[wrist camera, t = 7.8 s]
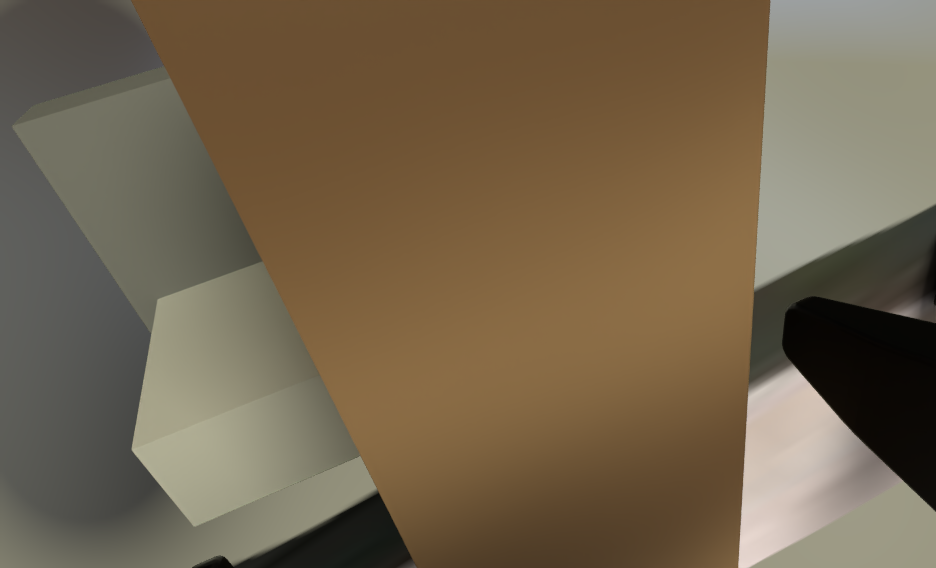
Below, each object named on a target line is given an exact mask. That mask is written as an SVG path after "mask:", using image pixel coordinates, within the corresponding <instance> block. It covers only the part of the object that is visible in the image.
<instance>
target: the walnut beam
mask: <svg viewBox="0 0 936 568" xmlns="http://www.w3.org/2000/svg"><path fill="white" fill-rule="evenodd" d="M131 1H132V3H133V5H134V7H135V9H136V11H137V13H138V15H139V17H140V19H141V21H142V23H143V25H144V27H145V29H146V30H147V33H148V35H149V37H150V39H151V41H152V42H153V44H154V47H155V49H156V50H157V52H158V55H159V57H160V59H161V60H162V62H163V64H164V66H165V68H166V70H167V72H168V74H169V76H170V78H171V80H172V82H173V84H174V86H175V88H176V90H177V92H178V94H179V96H180V98H181V100H182V102H183V104H184V106H185V108H186V110H187V112H188V114H189V116H190V118H191V120H192V122H193V124H194V126H195V128H196V130H197V132H198V134H199V136H200V138H201V140H202V142H203V144H204V146H205V148H206V150H207V152H208V154H209V156H210V158H211V160H212V162H213V164H214V166H215V168H216V170H217V172H218V174H219V176H220V178H221V180H222V182H223V184H224V186H225V188H226V190H227V192H228V194H229V196H230V198H231V199H232V201H233V203H234V205H235V207H236V209H237V211H238V213H239V215H240V217H241V219H242V221H243V223H244V225H245V227H246V229H247V231H248V233H249V235H250V237H251V239H252V241H253V243H254V245H255V247H256V249H257V251H258V253H259V255H260V257H261V259H262V261H263V263H264V265H265V267H266V269H267V271H268V273H269V275H270V277H271V279H272V281H273V283H274V285H275V287H276V289H277V291H278V293H279V295H280V297H281V299H282V301H283V303H284V305H285V307H286V309H287V311H288V313H289V315H290V317H291V319H292V321H293V323H294V325H295V327H296V329H297V331H298V332H299V334H300V336H301V338H302V340H303V342H304V344H305V346H306V348H307V350H308V352H309V354H310V356H311V358H312V360H313V362H314V364H315V366H316V368H317V370H318V372H319V374H320V376H321V378H322V380H323V382H324V384H325V386H326V388H327V390H328V392H329V394H330V396H331V398H332V400H333V402H334V404H335V406H336V408H337V410H338V412H339V414H340V416H341V418H342V420H343V422H344V424H345V426H346V428H347V430H348V432H349V434H350V436H351V438H352V440H353V442H354V444H355V446H356V448H357V450H358V452H359V454H360V456H361V457H362V460H363V461H364V463H365V465H366V467H367V469H368V471H369V473H370V475H371V477H372V479H373V481H374V483H375V485H376V487H377V489H378V491H379V493H380V495H381V497H382V499H383V501H384V503H385V505H386V507H387V509H388V511H389V513H390V515H391V517H392V519H393V521H394V523H395V525H396V527H397V529H398V531H399V533H400V535H401V537H402V539H403V541H404V543H405V545H406V547H407V549H408V551H409V553H410V555H411V557H412V559H413V561H414V563H415V565H416V567H417V568H738V560H739V543H740V525H741V507H742V490H743V472H744V455H745V437H746V420H747V402H748V384H749V367H750V349H751V332H752V314H753V296H754V278H755V259H756V244H757V225H758V207H759V190H760V173H761V156H762V138H763V120H764V103H765V85H766V67H767V50H768V33H769V13H770V0H131Z"/></svg>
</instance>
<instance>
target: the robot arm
mask: <svg viewBox="0 0 936 568" xmlns="http://www.w3.org/2000/svg"><path fill="white" fill-rule="evenodd" d="M934 305H935V306H936V295H935V299H934ZM782 346H783V350H784V352H785V354H786V356H787V357H788V359H789V360H790V361H791V362H792V364H793V365H794V366H795V367H796V368H797V369H798V371H799V372H800V373H801V374H802V375H803V376H804V377H805V379H806V380H807V381H808V382H809V383H810V384H811V385H812V387H813V388H814V389H815V390H816V391H817V392H818V394H819V395H820V396H821V397H822V398H823V399H824V400H825V402H826V403H827V404H828V405H829V406H830V407H831V408H832V410H833V411H834V412H835V413H836V414H837V415H838V417H839V418H840V419H841V420H842V421H843V422H844V423H845V424H846V425H847V427H848V428H849V429H850V430H851V431H852V432H853V433H854V434H855V435H856V436H857V437H858V438H859V439H860V440H861V441H862V442H863V443H864V444H865V445H866V446H867V447H868V448H869V449H870V450H871V451H872V452H873V453H875V454H876V455H877V456H878V457H879V458H880V459H881V460H882V461H883V462H884V463H885V464H886V465H887V466H888V467H889V468H890V469H891V470H892V471H893V472H895V473H896V474H897V475H898V476H899V477H900V478H901V479H902V480H903V481H904V482H905V483H906V484H907V485H908V486H909V487H910V488H911V489H912V490H913V491H915V492H916V493H917V494H918V495H919V496H920V497H921V498H922V499H923V500H924V501H925V502H926V503H927V504H928V505H929V506H930V507H931V508H933V510H935V511H936V323H932V322H928V321H923V320H919V319H915V318H910V317H906V316H901V315H897V314H893V313H888V312H884V311H879V310H875V309H870V308H866V307H862V306H857V305H853V304H848V303H844V302H839V301H835V300H831V299H826V298H822V297H817V296H810V297H806V298H804V299H801V300H799V301H797V302H795V303H792V304H790V305H789V306H788V307H787V309H786V311H785V319H784V328H783V338H782ZM192 568H234V567H233V566H232V565H231V563H230V562H229V561H228V560H227V559H226V558H225V557H223V556H216V557H213V558H211V559H209V560H206V561H204V562H202V563H200V564H197V565H195V566H194V567H192Z"/></svg>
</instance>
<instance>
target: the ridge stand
mask: <svg viewBox="0 0 936 568" xmlns="http://www.w3.org/2000/svg"><path fill="white" fill-rule="evenodd" d="M12 128H13V129H14V131H15V132H16V134H17V135H18V137H19V138H20V140H21V141H22V143H23V144H24V146H25V147H26V149H27V150H28V152H29V153H30V154H31V156H32V158H33V159H34V161H35V162H36V163H37V165H38V166H39V168H40V169H41V171H42V172H43V174H44V175H45V177H46V178H47V180H48V181H49V183H50V184H51V186H52V187H53V189H54V190H55V192H56V193H57V195H58V196H59V198H60V199H61V201H62V202H63V203H64V205H65V207H66V208H67V209H68V211H69V213H70V214H71V215H72V217H73V219H74V220H75V222H76V223H77V224H78V226H79V228H80V229H81V230H82V232H83V233H84V235H85V236H86V238H87V239H88V241H89V242H90V244H91V245H92V247H93V248H94V250H95V251H96V253H97V254H98V256H99V257H100V259H101V260H102V262H103V263H104V265H105V266H106V268H107V269H108V270H109V272H110V274H111V275H112V277H113V278H114V280H115V281H116V283H117V284H118V286H119V287H120V289H121V290H122V291H123V293H124V294H125V296H126V297H127V299H128V300H129V302H130V303H131V305H132V306H133V308H134V309H135V311H136V312H137V314H138V315H139V317H140V318H141V320H142V321H143V323H144V324H145V326H146V327H147V329H148V330H149V332H150V333H151V341H150V346H149V352H148V359H147V364H146V369H145V375H144V382H143V387H142V393H141V398H140V404H139V410H138V416H137V422H136V427H135V433H134V439H133V445H132V451H133V452H134V453H135V455H136V456H137V457H138V458H139V459H140V461H141V462H142V463H143V465H144V466H145V467H146V468H147V469H148V471H149V472H150V473H151V474H152V476H153V477H154V478H155V479H156V481H157V482H158V483H159V484H160V485H161V487H162V488H163V489H164V490H165V492H166V493H167V494H168V495H169V496H170V498H171V499H172V500H173V501H174V503H175V504H176V505H177V506H178V507H179V509H180V510H181V511H182V513H183V514H184V515H185V516H186V517H187V519H188V520H189V521H190V522H191V524H192V525H193V526H194V527H195V526H198V525H200V524H202V523H204V522H207V521H209V520H212V519H214V518H216V517H219V516H221V515H223V514H226V513H228V512H230V511H233V510H235V509H237V508H240V507H242V506H244V505H247V504H249V503H251V502H254V501H256V500H258V499H261V498H263V497H265V496H267V495H270V494H272V493H275V492H277V491H279V490H282V489H284V488H286V487H289V486H291V485H294V484H296V483H298V482H301V481H303V480H305V479H307V478H310V477H312V476H315V475H317V474H319V473H322V472H324V471H326V470H328V469H331V468H333V467H335V466H337V465H340V464H342V463H345V462H347V461H349V460H352V459H354V458H357V457H359V456H360V454H359V452H358V450H357V448H356V446H355V444H354V442H353V440H352V438H351V436H350V434H349V432H348V430H347V428H346V426H345V424H344V422H343V420H342V418H341V416H340V414H339V412H338V410H337V408H336V406H335V404H334V402H333V400H332V398H331V396H330V394H329V392H328V390H327V388H326V386H325V384H324V382H323V380H322V378H321V376H320V374H319V372H318V370H317V368H316V366H315V364H314V362H313V360H312V358H311V356H310V354H309V352H308V350H307V348H306V346H305V344H304V342H303V340H302V338H301V336H300V334H299V332H298V331H297V329H296V327H295V325H294V323H293V321H292V319H291V317H290V315H289V313H288V311H287V309H286V307H285V305H284V303H283V301H282V299H281V297H280V295H279V293H278V291H277V289H276V287H275V285H274V283H273V281H272V279H271V277H270V275H269V273H268V271H267V269H266V267H265V265H264V263H263V261H262V259H261V257H260V255H259V253H258V251H257V249H256V247H255V245H254V243H253V241H252V239H251V237H250V235H249V233H248V231H247V229H246V227H245V225H244V223H243V221H242V219H241V217H240V215H239V213H238V211H237V209H236V207H235V205H234V203H233V201H232V199H231V198H230V196H229V194H228V192H227V190H226V188H225V186H224V184H223V182H222V180H221V178H220V176H219V174H218V172H217V170H216V168H215V166H214V164H213V162H212V160H211V158H210V156H209V154H208V152H207V150H206V148H205V146H204V144H203V142H202V140H201V138H200V136H199V134H198V132H197V130H196V128H195V126H194V124H193V122H192V120H191V118H190V116H189V114H188V112H187V110H186V108H185V106H184V104H183V102H182V100H181V98H180V96H179V94H178V92H177V90H176V88H175V86H174V84H173V82H172V80H171V78H170V76H169V74H168V72H167V70H166V68H165V66H164V67H161V68H157V69H154V70H151V71H147V72H144V73H140V74H137V75H134V76H130V77H127V78H124V79H121V80H117V81H114V82H110V83H107V84H104V85H100V86H97V87H94V88H90V89H87V90H84V91H80V92H77V93H73V94H70V95H67V96H64V97H60V98H57V99H54V100H50V101H47V102H43V103H41V104H37V105H34V106H32V107H31V108H30V109H29V110H28V111H27V112H26V113H25V114H24V115H23V116H22V117H21V118H20V119H19V120H17V121H16V122H15V124H13V125H12Z"/></svg>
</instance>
